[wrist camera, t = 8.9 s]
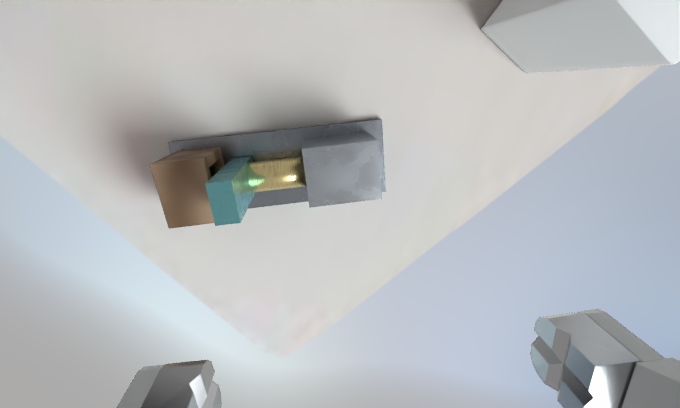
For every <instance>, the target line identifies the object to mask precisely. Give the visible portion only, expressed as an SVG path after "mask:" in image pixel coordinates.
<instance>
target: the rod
mask: <svg viewBox="0 0 680 408" xmlns="http://www.w3.org/2000/svg"><path fill="white" fill-rule="evenodd" d="M209 170H210V174H211V179H210V180H209V181H208V182H206V183H205V186H206V190H207V194H208V198H209V202H210V206H211V210H212V214H213V219H214V223H215V226H217V225H225V224H233V223H240V222H241V220H242V218H243V217H244V215H245V213H246V211H247V209H248V207H249V205H250V203H251V201H252V199H253V197H254V195H255V193H256V192H262V191H271V190H279V189H288V188H296V187H305V186H307V185H306V178H305V170H304V163H303V157H295V158H286V159H277V160H268V161H259V162H252V157H242V158H233V159H231V160H230V161H229V162H228V163H227V164H226V165H224V166H215V167H209Z"/></svg>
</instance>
